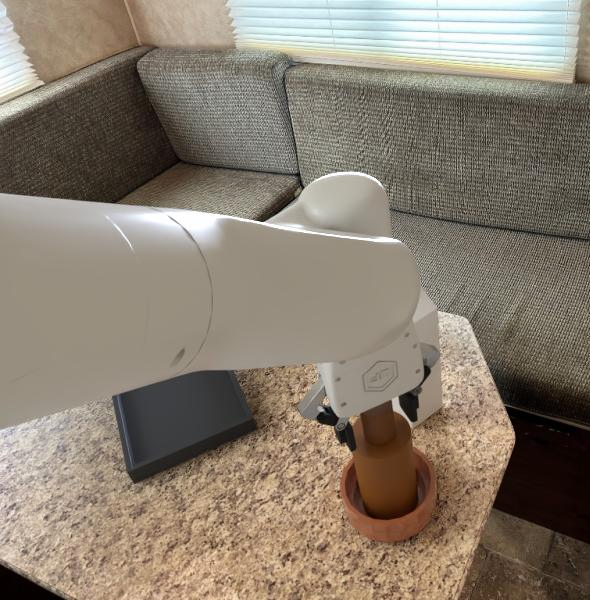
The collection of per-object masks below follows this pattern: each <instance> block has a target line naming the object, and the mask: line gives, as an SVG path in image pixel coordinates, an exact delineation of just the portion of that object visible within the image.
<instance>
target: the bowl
mask: <svg viewBox="0 0 590 600" xmlns="http://www.w3.org/2000/svg"><path fill="white" fill-rule="evenodd" d="M413 452H414V461H415V470H416V479H417V488H418V504H417V506H416V509H415V510H414V511H413V512H411V513H409V514H407V515H406V516H404V517H401V518H396V519H391V520H378V519H372V518H371V517H370V516H369V515H368V514H367V513H366V511H365V509H364V506H363V501H362V496H361V492H360V487H359V483H358V478H357V473H356V469H355V464H354V459H353V457H351V458H350V459H349V461H348V462H347V464H346V465H345V467H344V469H343V470H342V474H341V476H340V477H341V478H340V482H339V487H340V488H339V489H340V496H341V501H342V505H343V508H344V512H345V515H346V517H347V519H348V521H349V523H350V526H351V527H352V528H353V529H355V530H356V531H357V532H358V533H359V534H360V535H362V536H363V537H365V538H368V539H369V540H372V541H376V542H384V543H394V542H399V541H404V540H407V539H410V538H411V537H413V536H415V535H416V534H418V533H420V532H421V531H422V530H423V529H424V528H425V527H426V525H428V524H429V523H430V521H431V520H432V518H433V516H434V514H435V511H436V509H437V501H438V489H437V475H436V473H435V470H434V466H433V464H432V462H431V461H430V460H429V458H428V457H427V454H425V453H424V452H423V451H422V450H419V448H417V447H415V446H413Z"/></svg>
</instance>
